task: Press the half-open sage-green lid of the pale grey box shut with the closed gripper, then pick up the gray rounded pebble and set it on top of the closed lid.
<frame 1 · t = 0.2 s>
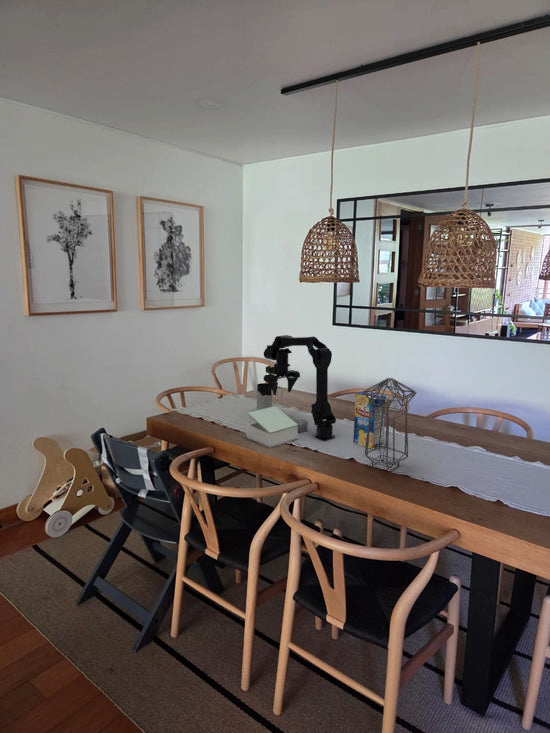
hand: (282, 393, 232), 14 cm above the table, tool pointing down, fingers open, 9 cm apart
box: (271, 438, 213), on the table
lid: (272, 419, 210), point 9 cm above the table, hinge at 18.0°
geometric lantern: (384, 467, 183), on the table
gray rounded pebble: (301, 431, 223), on the table
beverage box: (368, 444, 206), on the table
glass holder: (269, 412, 250), on the table
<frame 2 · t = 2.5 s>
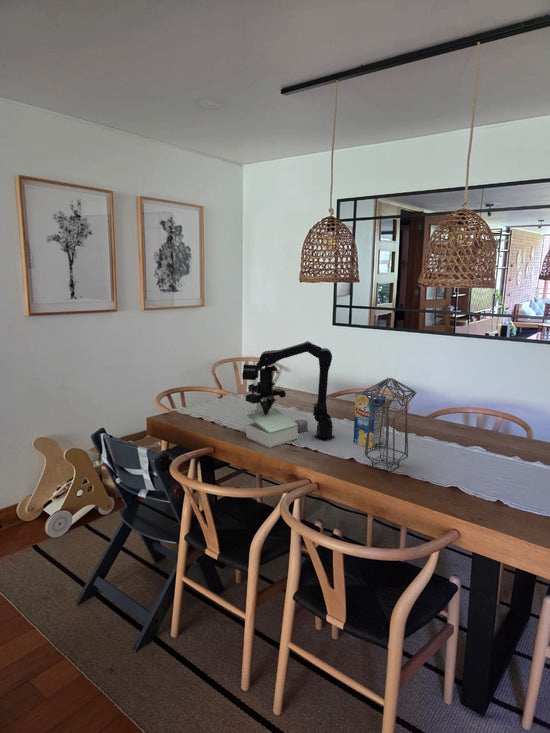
hand: (265, 414, 214), 10 cm above the table, tool pointing down, fingers closed, pressing on lid
lid: (272, 420, 211), point 8 cm above the table, hinge at 14.1°, touching gripper
everything else where it was.
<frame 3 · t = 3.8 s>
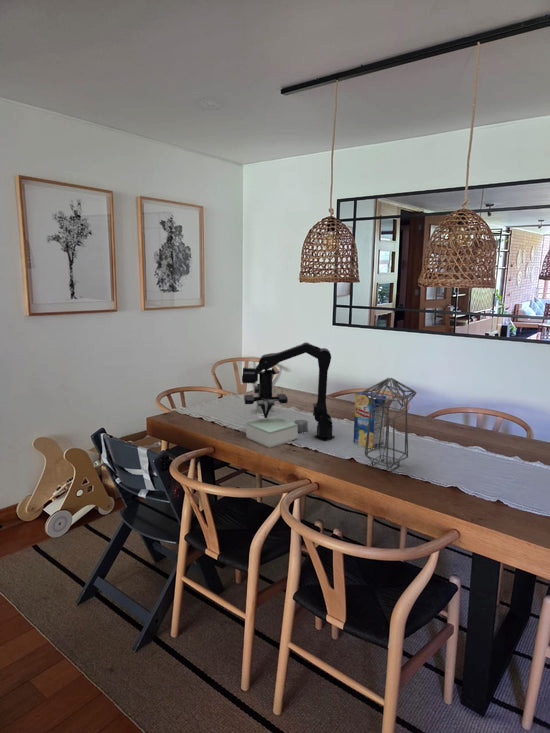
hand: (265, 417, 214), 9 cm above the table, tool pointing down, fingers closed
lid: (271, 424, 211), point 6 cm above the table, hinge at -0.3°
everything else where it was.
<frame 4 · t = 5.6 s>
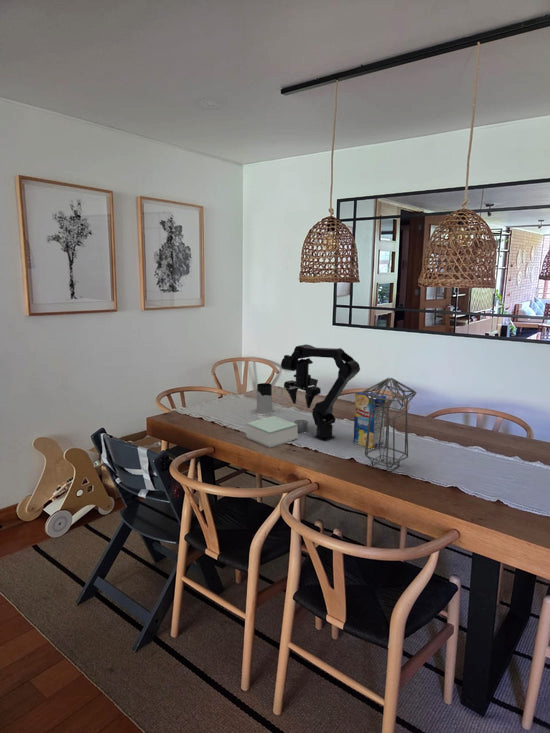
hand: (301, 405, 220), 12 cm above the table, tool pointing down, fingers open, 9 cm apart
nothing on the table moved.
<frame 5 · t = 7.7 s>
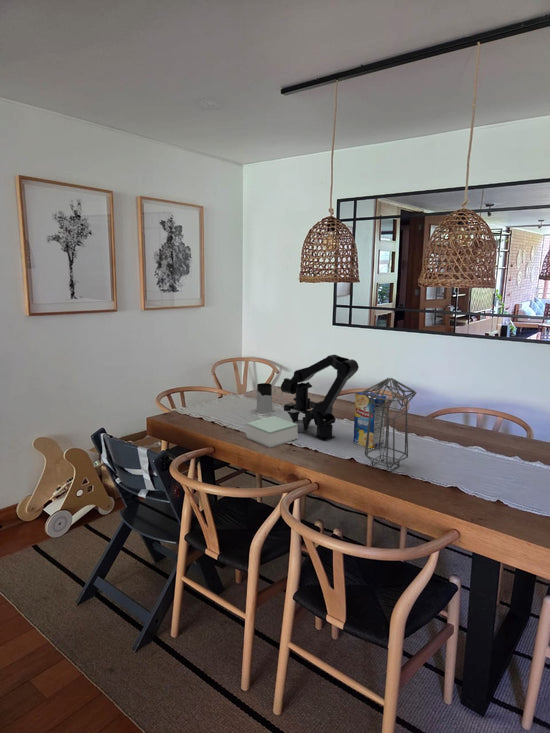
hand: (301, 428, 223), 1 cm above the table, tool pointing down, fingers closed on gray rounded pebble, 6 cm apart
gray rounded pebble: (301, 430, 223), on the table, touching gripper
everything else where it was.
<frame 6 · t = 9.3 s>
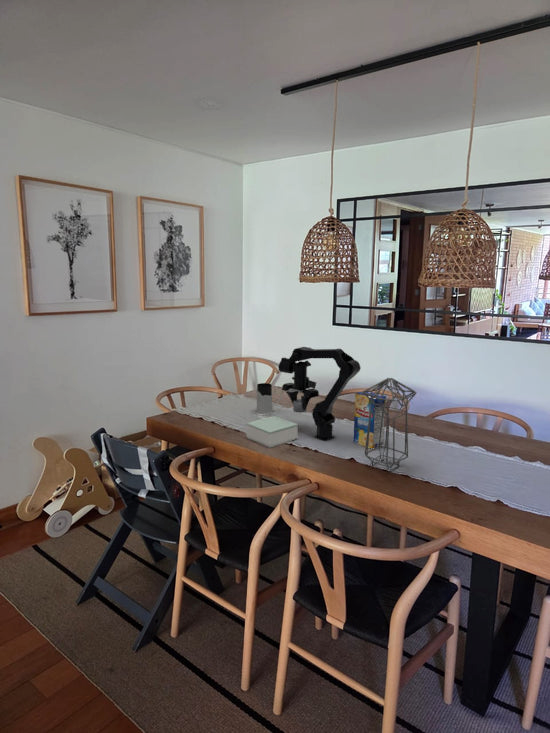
hand: (299, 408, 220), 11 cm above the table, tool pointing down, fingers closed on gray rounded pebble, 6 cm apart
gray rounded pebble: (299, 410, 220), point 10 cm above the table, touching gripper
everything else where it was.
when the fingers open (9 cm above the table, at t = 11.4 s): gray rounded pebble drops 1 cm, resting on lid.
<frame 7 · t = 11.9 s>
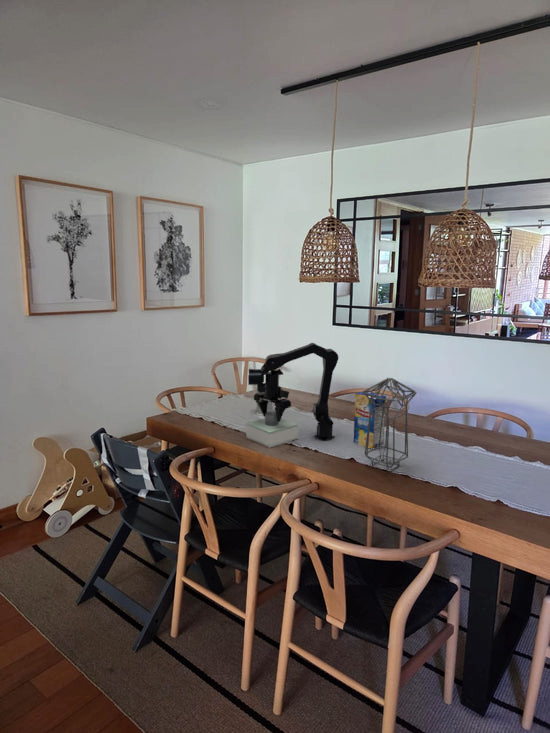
hand: (271, 419, 211), 9 cm above the table, tool pointing down, fingers open, 9 cm apart
lid: (271, 424, 211), point 6 cm above the table, hinge at -0.4°, touching gray rounded pebble
gray rounded pebble: (271, 423, 211), point 7 cm above the table, touching lid
everything else where it was.
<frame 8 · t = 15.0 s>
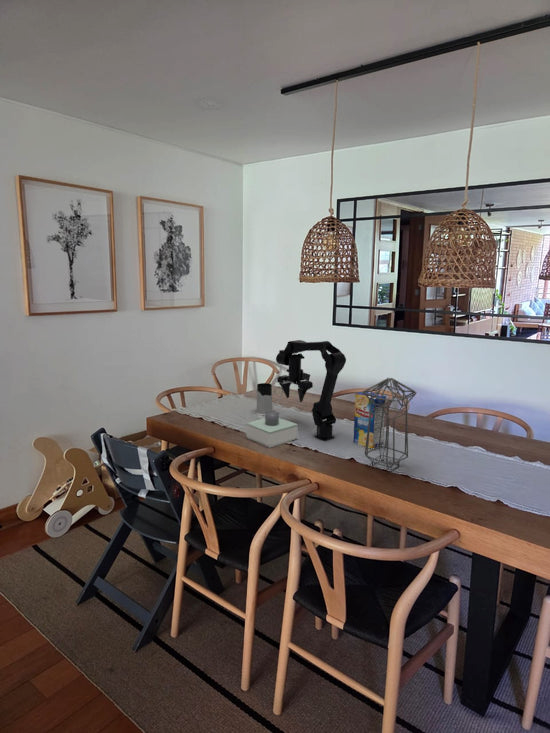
hand: (294, 399, 227), 13 cm above the table, tool pointing down, fingers open, 9 cm apart
nothing on the table moved.
at the end: lid at +0° (first picture: +18°); gray rounded pebble inside the target area on the box (0.1 cm from its centre), point 6.9 cm above the box's base; gray rounded pebble tilted 1° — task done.
